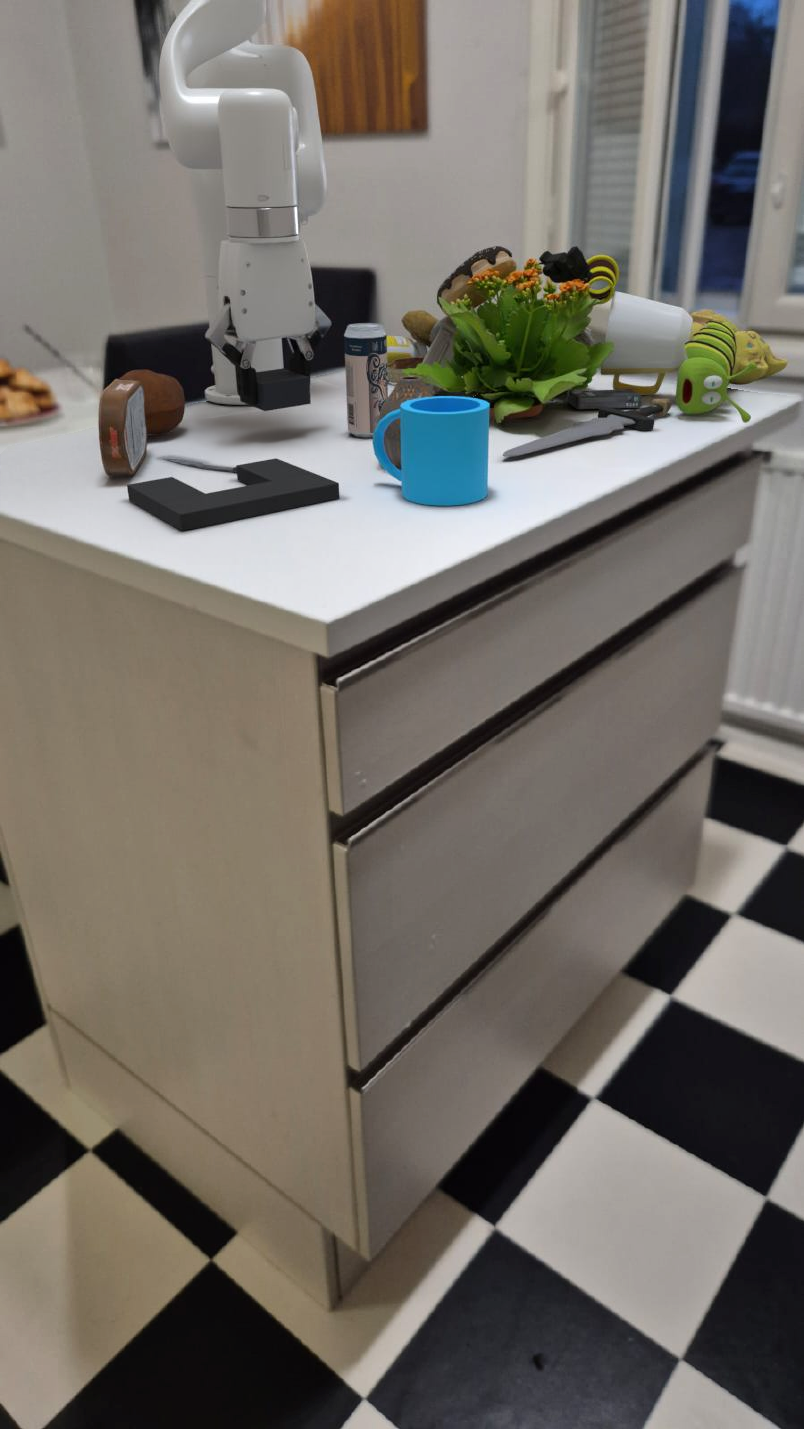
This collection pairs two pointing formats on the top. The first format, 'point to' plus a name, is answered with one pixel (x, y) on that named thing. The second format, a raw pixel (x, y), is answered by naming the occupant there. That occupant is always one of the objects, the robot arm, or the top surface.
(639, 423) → the dagger
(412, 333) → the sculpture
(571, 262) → the toy gun
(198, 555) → the top surface
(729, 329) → the toy
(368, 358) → the beer can
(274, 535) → the top surface
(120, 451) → the tin
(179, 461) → the knife
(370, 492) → the top surface
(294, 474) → the base pad
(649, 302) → the mug
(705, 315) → the figurine
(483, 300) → the donut
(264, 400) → the small pad
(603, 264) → the opera glasses
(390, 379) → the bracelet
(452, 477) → the mug
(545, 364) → the potted flower
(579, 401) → the mini dv tape
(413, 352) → the supplement bottle
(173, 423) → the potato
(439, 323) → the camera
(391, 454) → the vase
